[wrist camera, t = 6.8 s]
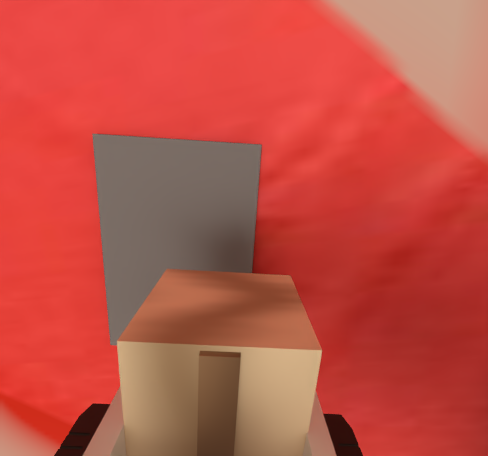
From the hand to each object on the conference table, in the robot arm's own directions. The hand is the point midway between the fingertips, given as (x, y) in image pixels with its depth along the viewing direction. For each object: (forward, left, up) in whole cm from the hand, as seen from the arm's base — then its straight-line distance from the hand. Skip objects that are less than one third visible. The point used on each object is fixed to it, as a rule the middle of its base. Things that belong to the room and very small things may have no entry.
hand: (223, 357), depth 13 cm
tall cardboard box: (0, 0, 0) cm, 0 cm away
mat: (0, +6, -13) cm, 14 cm away
